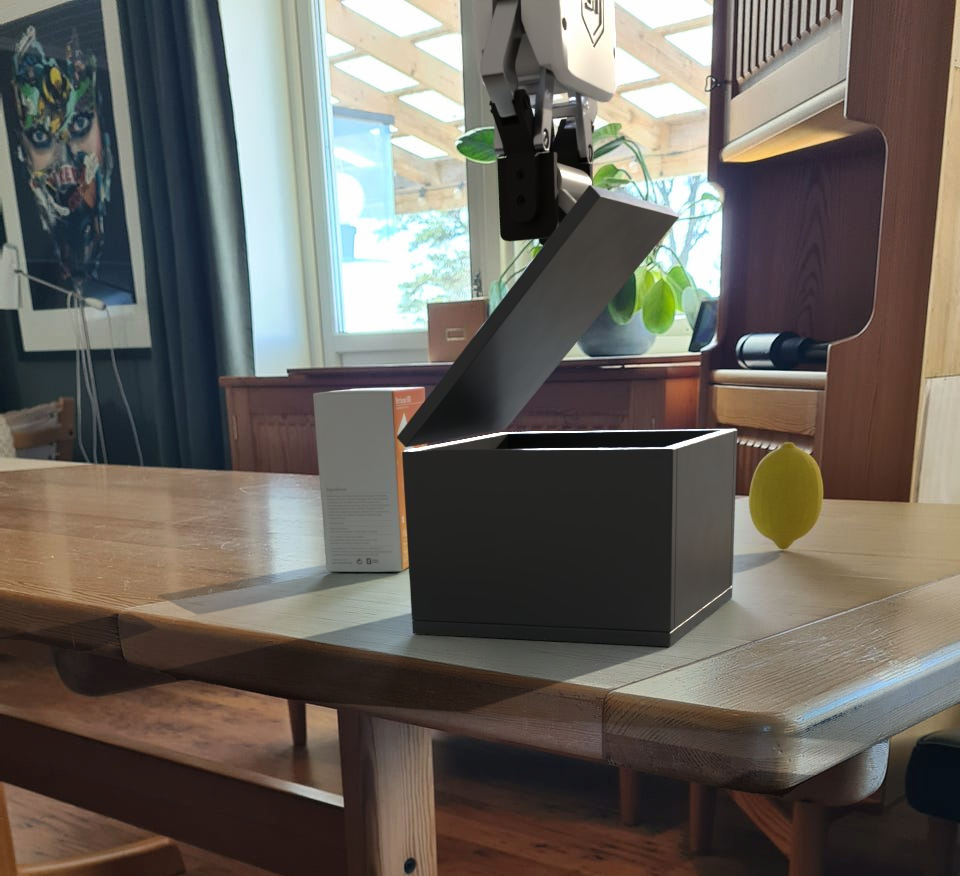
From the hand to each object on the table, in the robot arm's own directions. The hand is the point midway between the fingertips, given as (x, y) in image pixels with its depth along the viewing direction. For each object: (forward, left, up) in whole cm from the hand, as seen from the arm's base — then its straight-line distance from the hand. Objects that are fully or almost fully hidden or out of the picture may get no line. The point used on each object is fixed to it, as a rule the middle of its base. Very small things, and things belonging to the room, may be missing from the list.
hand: (548, 238), depth 71 cm
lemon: (-9, -28, -21) cm, 36 cm away
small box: (+20, -16, -21) cm, 34 cm away
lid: (0, 0, -5) cm, 5 cm away
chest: (-2, 0, -21) cm, 21 cm away
